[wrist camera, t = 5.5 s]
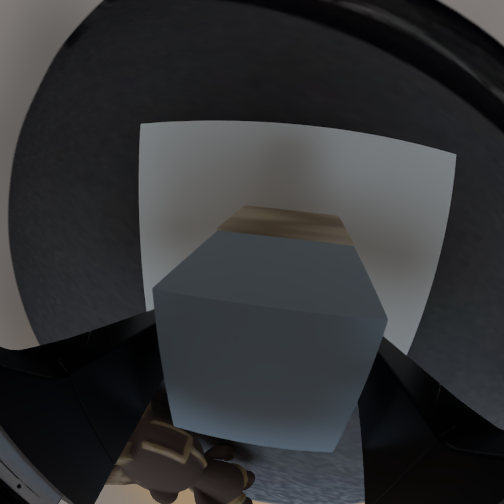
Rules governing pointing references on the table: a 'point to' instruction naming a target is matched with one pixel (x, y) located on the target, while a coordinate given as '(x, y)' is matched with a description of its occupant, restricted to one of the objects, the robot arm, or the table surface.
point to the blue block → (267, 339)
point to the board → (299, 198)
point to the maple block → (288, 225)
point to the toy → (179, 465)
